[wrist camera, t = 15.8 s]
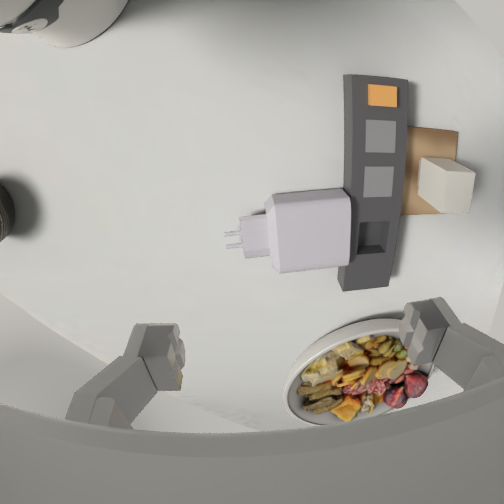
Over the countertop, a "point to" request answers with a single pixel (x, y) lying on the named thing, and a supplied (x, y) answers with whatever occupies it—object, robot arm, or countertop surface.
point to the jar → (5, 213)
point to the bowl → (353, 375)
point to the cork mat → (418, 146)
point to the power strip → (373, 175)
